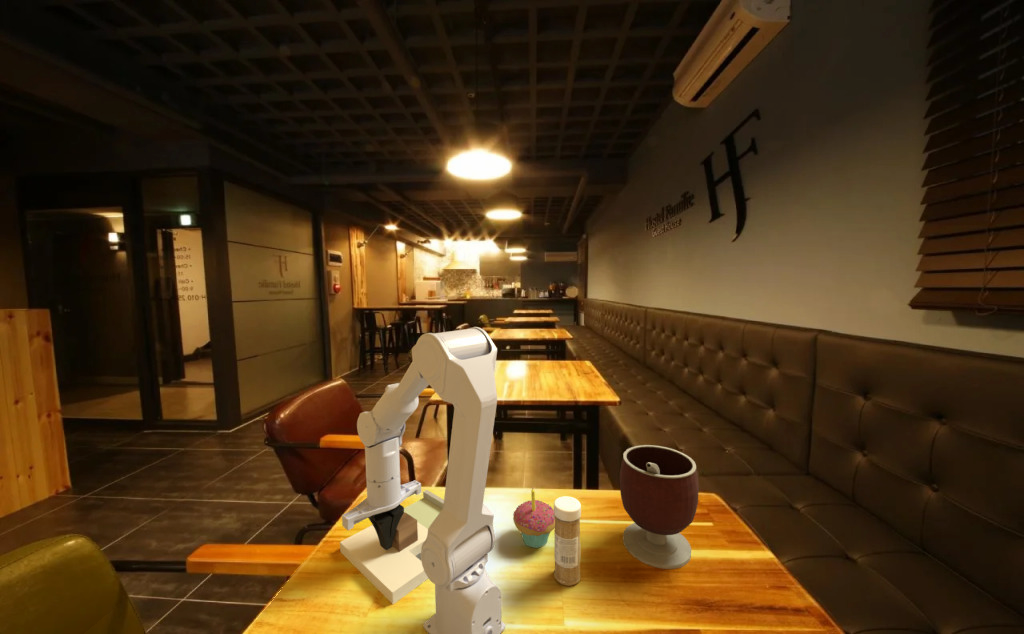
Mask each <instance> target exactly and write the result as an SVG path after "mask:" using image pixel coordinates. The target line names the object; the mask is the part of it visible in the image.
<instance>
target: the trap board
mask: <svg viewBox="0 0 1024 634" xmlns="http://www.w3.org/2000/svg"><path fill="white" fill-rule="evenodd" d="M422 493H423V495H422V496H423V497H422V498H420V499H419V500H417V501H415V502H413V503H411V504H409V505H407V506H406V507H404V512H405V513H407V514H409V515H410V516H412V517H413V518H415V519H416V520H417V528H418V540H417V541H416V542H414V543H413V544H411V545H409V546H408V547H406V548H405V549H403V550H401V551H400V552H399V551H398V550H397V549H395V548H394V547H393V546H392V547H391V548H389V549H388V550H385V549H384V548H383V547H381V546H380V542H379V538H378V535H377V533H376V530H375V528H374V526H373V525H372V524H371V525H370V526H367V527H366V528H364V529H362V530H360V531H357V532H356V533H355V534H353V535H350V536H349V537H346V538H345V539H343V540H342V541H340V542H339V549H340V550H339V551H340V552H339V553H341V554H342V555H343V556H344V557H345V558H346V559H347V560H348V561H349V562H350V563H351V564H352V565H353V566H354V567H355V568H356V569H357V570H358V571H359V572H360V573H361V575H363V576H364V577H365V578H366V579H367V580H368V581H369V582H370V583H371V584H372V585H373V586H374V587H375V588H376V589H377V590H378V591H379V592H380V593H381V594H382V595H383V596H384V597H385V598H386V599H387V600H388V601H389V602H390V603H391V604H392V605H394V604H396V603H397V602H398V601H400V600H401V599H402V598H404V597H405V596H406V595H408V594H410V593H411V592H412V591H413V590H415V589H416V588H418V587H419V586H420V585H422V584H423V583H424V582H425V581H427V580H428V579H429V578H428V577H427V575H426V573H425V571H424V569H423V566H422V562H421V548H422V545H423V543H424V541H425V540H426V538H427V534H428V528H429V527H430V525H431V524H432V522H433V521H434V520H435V518H436V517H437V516H438V514H439V513H440V512H441V510H442V509H443V505H444V498H441V496H438V495H436V494H435V493H433V492H431V491H430V490H428V489H426V490H424V491H422Z"/></svg>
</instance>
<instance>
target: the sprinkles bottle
mask: <svg viewBox="0 0 1024 634" xmlns="http://www.w3.org/2000/svg"><path fill="white" fill-rule="evenodd" d="M553 510H554V516H555V528H554V529H553V530H554V549H553V550H554V551H553V553H554V572H553V576H554V579H555V580H556V581H557V582H558V583H559V584H561V585H562V586H569V587H570V586H574V585H576V584H578V583H579V582H580V580H581V572H580V571H581V567H580V566H581V565H580V564H581V563H580V562H581V528H580V527H581V523H580V522H581V521H580V519H581V516H582V515H581V514H582V505H581V502H580V501H579V500H578V499H577V498H575V497H573V496H569V495H568V496H560V497H558V498H556V499H555V500H554V501H553Z"/></svg>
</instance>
